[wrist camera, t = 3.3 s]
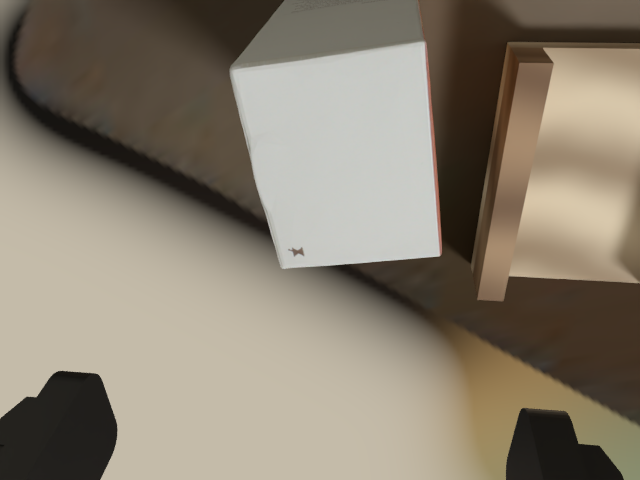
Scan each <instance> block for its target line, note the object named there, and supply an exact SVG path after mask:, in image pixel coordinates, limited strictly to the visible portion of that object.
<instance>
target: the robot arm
mask: <svg viewBox="0 0 640 480" xmlns="http://www.w3.org/2000/svg"><path fill="white" fill-rule="evenodd" d="M116 440H117V423H116V419H115V416H114V414H113V411H112V408H111V405H110V402H109V399H108V397H107V393H106V390H105V388H104V385H103V382H102V379H101V378H100V376H99V375H98V374H94V373H81V372H68V371H58V372H56V373H54V374H53V375H52V376H51V377H50V378H49V380H48V381H47V383H46V384H45V386H44V388H43V389H42V390H41V392H40V393H39V395H38V396H37V397H26V398H25V399H23V400H22V401H21V402H20V403H19V404H17V405H16V406H15V407H14V408H12V409H11V410H10V411H9V412H8V413H6V414H5V415H4V416H3V417H1V419H0V480H100V479H101V477H102V475H103V473H104V470H105V469H106V467H107V465H108V462H109V460H110V458H111V456H112V454H113V451H114V448H115V445H116ZM506 480H624V479H623V476H622V474H621V472H620V471H619V470H618V469H617V467H616V466H615V465H614V464H613V462H612V461H611V460H610V459H609V457H608V456H607V455H606V454H605V452H604V451H603V450H602V449H601V447H600V446H595V445H584V444H578V441H577V438H576V434H575V431H574V428H573V424H572V421H571V419H570V417H569V415H568V413H567V412H565V411H555V410H541V409H528V408H522V409H521V411H520V413H519V416H518V420H517V424H516V428H515V431H514V435H513V439H512V443H511V446H510V450H509V454H508V457H507V465H506Z"/></svg>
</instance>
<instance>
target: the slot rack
mask: <svg viewBox="0 0 640 480" xmlns="http://www.w3.org/2000/svg"><path fill="white" fill-rule="evenodd" d="M471 267H472V272H473V278H474V284H475V290H476V295H477V300H491V301H503V300H504V295H505V291H506V286H507V281H508V277H509V276H519V277H538V278H556V279H575V280H593V281H612V282H630V283H640V43H573V42H507V48H506V54H505V60H504V66H503V72H502V78H501V85H500V91H499V97H498V103H497V109H496V115H495V121H494V127H493V134H492V140H491V146H490V152H489V158H488V164H487V170H486V176H485V183H484V189H483V195H482V201H481V207H480V213H479V219H478V226H477V232H476V238H475V244H474V250H473V256H472V262H471Z"/></svg>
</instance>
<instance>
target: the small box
mask: <svg viewBox="0 0 640 480" xmlns="http://www.w3.org/2000/svg"><path fill="white" fill-rule="evenodd" d="M229 71H230V78H231V82H232V86H233V91H234V95H235V99H236V103H237V107H238V111H239V115H240V119H241V123H242V127H243V130H244V135H245V139H246V143H247V147H248V150H249V155H250V159H251V164H252V169H253V174H254V178H255V182H256V186H257V189H258V192H259V196H260V200H261V203H262V205H263V208H264V210H265V213H266V217H267V220H268V224H269V227H270V231H271V234H272V238H273V241H274V245H275V248H276V252H277V256H278V259H279V263H280V266H281V268H283V269H287V268H295V267H313V266H327V265H340V264H353V263H366V262H378V261H389V260H402V259H414V258H423V257H437V256H440V255H441V254H442V240H441V222H440V205H439V189H438V175H437V162H436V149H435V137H434V124H433V113H432V103H431V88H430V75H429V65H428V55H427V44H426V41H425V37H424V31H423V26H422V18H421V12H420V7H419V0H284V2H283V3H282V4H281V5H280V6H279V8H278V9H277V10H276V11H275V12H274V14H273V15H272V16H271V18H270V19H269V20H268V22H267V23H266V24H265V25H264V26H263V28H262V29H261V30H260V31H259V32H258V34H257V35H256V36H255V37H254V39H253V40H252V41H251V43H250V44H249V45H248V46H247V48H246V49H245V50H244V51H243V52H242V54H241V55H240V56H239V57H238V59H237V60H236V61H235V62H234V63H233V64H232V65H231V67H230V70H229Z"/></svg>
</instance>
